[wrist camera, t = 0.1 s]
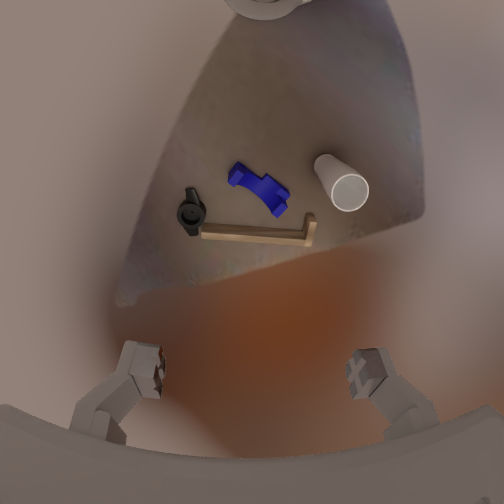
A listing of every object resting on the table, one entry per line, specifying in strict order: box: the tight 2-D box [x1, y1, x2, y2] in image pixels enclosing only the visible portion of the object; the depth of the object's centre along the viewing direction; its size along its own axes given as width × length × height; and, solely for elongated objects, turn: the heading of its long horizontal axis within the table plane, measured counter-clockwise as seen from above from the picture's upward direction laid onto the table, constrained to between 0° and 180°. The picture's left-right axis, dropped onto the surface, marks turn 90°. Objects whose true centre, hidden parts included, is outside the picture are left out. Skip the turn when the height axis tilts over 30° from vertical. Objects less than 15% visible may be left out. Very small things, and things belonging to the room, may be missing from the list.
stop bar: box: [201, 213, 317, 247], centre depth 60 cm, size 6×24×4 cm, turn 84°
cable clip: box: [228, 162, 290, 218], centre depth 54 cm, size 12×4×6 cm, turn 51°
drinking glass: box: [314, 154, 369, 211], centre depth 48 cm, size 7×7×15 cm
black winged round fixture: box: [177, 189, 206, 236], centre depth 58 cm, size 8×10×3 cm
